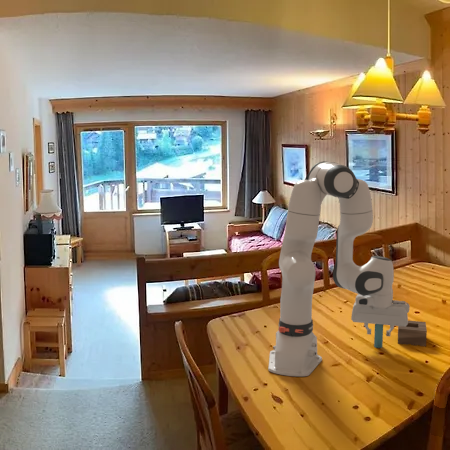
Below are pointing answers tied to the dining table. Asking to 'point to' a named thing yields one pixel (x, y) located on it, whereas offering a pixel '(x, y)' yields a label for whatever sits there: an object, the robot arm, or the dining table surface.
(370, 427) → the dining table surface
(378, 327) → the teal peg
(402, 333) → the walnut hole block
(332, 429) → the dining table surface
